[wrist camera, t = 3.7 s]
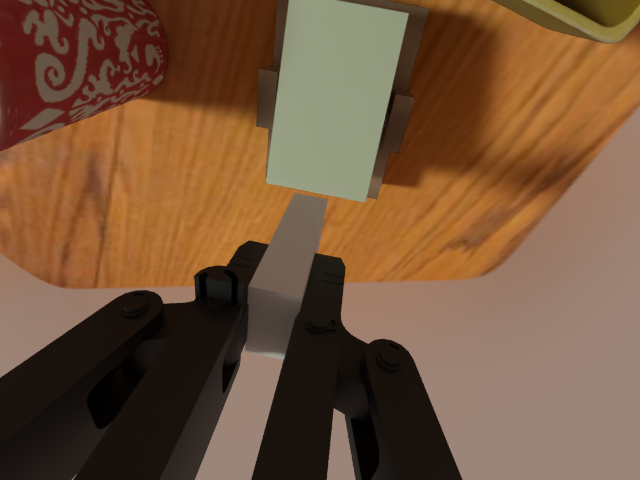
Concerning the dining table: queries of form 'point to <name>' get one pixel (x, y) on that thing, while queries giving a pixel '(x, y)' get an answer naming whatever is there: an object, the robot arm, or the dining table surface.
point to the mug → (73, 61)
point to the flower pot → (581, 16)
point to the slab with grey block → (399, 94)
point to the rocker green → (333, 95)
